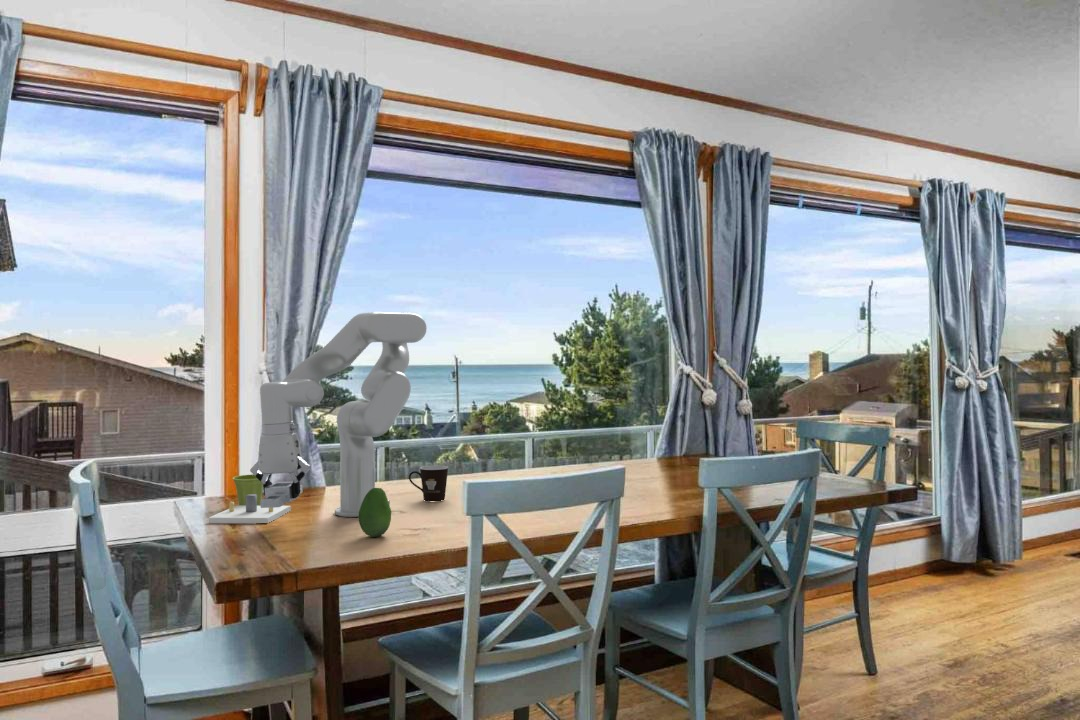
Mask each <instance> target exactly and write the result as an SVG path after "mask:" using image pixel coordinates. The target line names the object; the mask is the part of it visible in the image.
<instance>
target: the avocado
mask: <svg viewBox="0 0 1080 720" xmlns="http://www.w3.org/2000/svg"><path fill="white" fill-rule="evenodd" d="M388 500H389V499H388V496H387V494H386V492H385V491H384V489H383V488H382V487H375V488H373V489H371V490H370V491H369V492H368V493H367V494H366V496H365V498H364V500H363V502H362V504H361V507H360V510H359V517H358V522H359V526H360V528H361V530H362V532H363V533H364V534H365V535H367V536H368V537H371V538H379V537H381V536H383V535H384V534H386V532H387V531H388V530H389V527H390V525H391V522H392V509H391V506H389V503H388Z"/></svg>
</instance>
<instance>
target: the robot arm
mask: <svg viewBox="0 0 1080 720" xmlns="http://www.w3.org/2000/svg"><path fill="white" fill-rule="evenodd" d="M426 333H427V323H426V321H425V319H424V318H423V317H422V316H421V315H419V314H417V313H414V312H413V313H411V312H408V313H407V312H404V313H403V312H402V313H401V312H385V311H384V312H382V311H373V312H363V313H358V314H356V315H354V316H353V317H352V318H351V319H350V320H349V321H348V322H347V323H346V324H345V325H344V326H343V327H342V328H341V329H340V330H339V331H338V332H337V334H335V336H333V337H332V339H331V340H329V341H328V342H327V344H326V345H325V346H323V347H322V348H320V349H318V350H316V351H315V352H314V353H313V354H312V355H310V356H309V357H307V358H306V359H304V360H303V361H301V362H300V363H299V364H297V366H295V367H294V369H293V370H291V372H289V373H288V375H287V376H286V377H285V378H284V379H283V380H282V381H271V382H264V383H262V384H261V385H260V388H259V395H260V398H259V399H260V409H261V411H260V412H261V425H262V435H260V438H259V445H258V461H257V462H255V464H254V465H253V466H252V467H251V468H250V470H249V472H250V473H251V474H254V475H255V476H256V478H257V479H258V480H260V481H261V483H262V484H263V496H264V497H265V487H267V486H269V485H271V484H273V482H272V481H271V478H272V475H274V474H277V475H278V474H289V476H290V478H291V481H292V482H293V483H292V484H291V485H292V498H296V497H298V496H299V497H300V495H301V494H300V485H301V481H302V479H303V478H304V477H305V476H306V474H307V473H308V472H309V471H310V469H311V468H312V466H311V465H310V464H309V463H307V461H306V460H304V459H303V456H302V450H301V449H302V448H301V444H300V440H299V436H298V432H295V431H296V430H299V424H297V423H294V420H293V419H294V417H293V408H312V407H315V406H316V405H318V404H319V403H321V401H323V398H324V395H325V394H324V392H325V391H324V388H323V386H322V385H321V383H320V381H322V380H323V379H325V378H326V377H328V376H331V375H333V374H336V373H338V372H342V371H344V370H345V369H347V368H348V367H350V366H351V365H352V364H353V363H354V362H355V361H356V359H358V357H359V356H360V355H361V354H362V353H363V352H364V350H366V348H368V346H369V345H370V344H372V343H381V345H382V346H381V347H382V351H381V354H380V356H379V358H378V359H377V361H376V363H374V365H373V367H372V369H371V370H370V371H369V373H368V375H366V377H365V379H364V380H363V381H362V384H361V388H360V393H361V395H362V397H363V398H364V400H366V401H362V400H353V401H348V402H345V404H343V405H341V407H340V409H339V410H338V413H337V416H336V426H337V432H338V437H339V449H340V450H339V451H340V453H339V454H340V458H339V459H340V460H339V462H340V463H339V464H340V466H339V469H340V470H339V471H340V477H339V481H340V483H339V484H340V485H339V486H340V487H339V489H340V496H339V497H340V499H339V501H340V504H339V505H340V506H338V507H336V508H335V509H334V515H336V516H339V517H345V518H348V517H349V518H356V517H358V518H359V510H360V507H361V504H362V502H363V500H364V498H365V496H366V494H367V493H368V492H369V491H370V490H371V489H373V488H376V482H375V481H376V468H375V467H376V465H375V464H376V450H375V449H376V448H375V442H374V439H373V438H376V437H377V438H378V437H380V436H383V435H385V434H386V433H387V432H388V431H389V430H390V428H391V427H392V426H393V424H394V422H395V421H396V419H397V418H398V416H399V415H400V413H401V412H402V410H403V409H404V407H405V405H406V403H407V402H408V400H409V398H410V396H411V395H410V394H411V391H412V390H411V383H410V379H409V377H408V376H407V375H406V374H405V373H406V371H407V369H408V366H409V364H410V352H409V348H408V347H409V346H408V344H409V343H410V344H413V343H418V342H419V341H421V340H423V338H425V336H426ZM301 469H302V470H301ZM298 470H301V471H300V472H299V471H298ZM299 497H298V498H299ZM296 499H297V498H296ZM390 501H391V500H389V499H388V503H389V506H390V505H391V502H390ZM390 507H391V506H390Z"/></svg>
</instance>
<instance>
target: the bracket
mask: <svg viewBox="0 0 1080 720" xmlns="http://www.w3.org/2000/svg"><path fill="white" fill-rule="evenodd" d="M292 483H293V481H280V482H279V481H278V482H272V484H271V485H269V486H267V487H265V496H264V497H262V499H261V500H260V503H261V505H260V506H261V508H274V507H281V506H285V505H286V504H287V503H292V502H293V501H295V500H296V499H298V498H299V497H300V495H301V494H302V493H303V484H300V494H299V496H298V497H296V498H292V485H291V484H292Z"/></svg>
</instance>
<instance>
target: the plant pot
mask: <svg viewBox="0 0 1080 720" xmlns="http://www.w3.org/2000/svg"><path fill="white" fill-rule="evenodd" d="M232 480H233V482H234V485H235V490H236V495H237V502H238V505H244V506H246V495H249V494H256V495H257V506H261V503H260V500H261V499H263V494H264V490H263V484H262V483H261V481H260V480H258V479H257V478H256V476H255V475H254V474H253V473H251V474H243V475H242V474H241V475H235V476H233V477H232Z"/></svg>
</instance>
